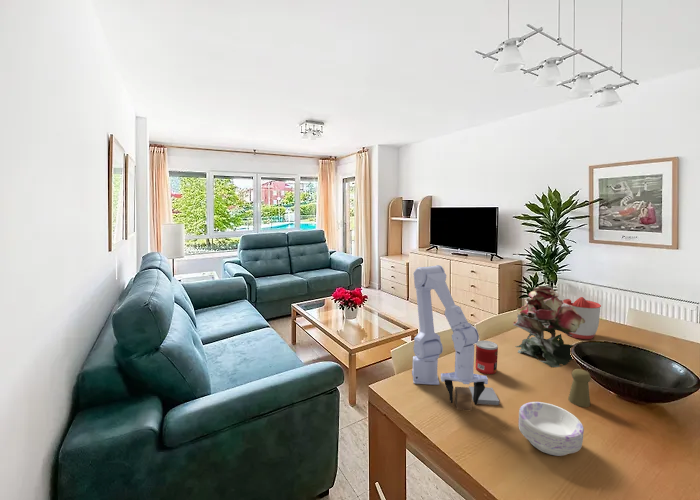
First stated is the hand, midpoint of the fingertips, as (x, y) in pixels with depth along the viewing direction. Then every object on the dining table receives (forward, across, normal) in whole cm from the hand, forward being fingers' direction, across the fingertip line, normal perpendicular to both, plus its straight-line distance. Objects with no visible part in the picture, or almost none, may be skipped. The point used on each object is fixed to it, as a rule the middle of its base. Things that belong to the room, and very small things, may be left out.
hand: (463, 402), depth 108 cm
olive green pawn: (+2, +39, +7) cm, 40 cm away
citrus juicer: (+2, +70, +69) cm, 98 cm away
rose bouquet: (+2, +44, +48) cm, 65 cm away
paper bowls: (+2, +20, -15) cm, 25 cm away
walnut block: (+2, 0, 0) cm, 2 cm away
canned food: (+2, +14, +26) cm, 30 cm away
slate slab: (+2, +8, +6) cm, 10 cm away
